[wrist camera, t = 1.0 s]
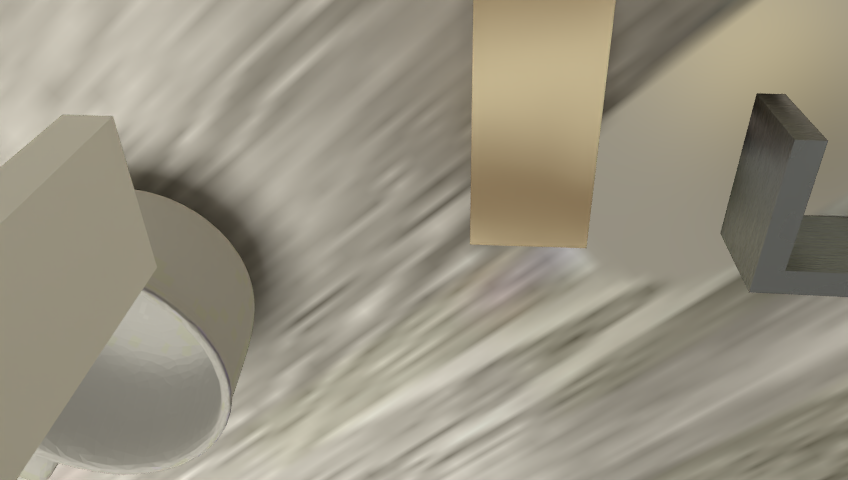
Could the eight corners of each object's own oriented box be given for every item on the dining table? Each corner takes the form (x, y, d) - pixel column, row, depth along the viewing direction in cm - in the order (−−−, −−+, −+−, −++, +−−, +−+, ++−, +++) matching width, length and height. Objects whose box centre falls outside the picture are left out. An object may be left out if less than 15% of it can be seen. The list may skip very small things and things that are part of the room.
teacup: (127, 106, 28) (12, 206, 22) (329, 273, 32) (283, 402, 25) (-23, 289, 34) (-149, 411, 28) (161, 411, 38) (88, 546, 31)
